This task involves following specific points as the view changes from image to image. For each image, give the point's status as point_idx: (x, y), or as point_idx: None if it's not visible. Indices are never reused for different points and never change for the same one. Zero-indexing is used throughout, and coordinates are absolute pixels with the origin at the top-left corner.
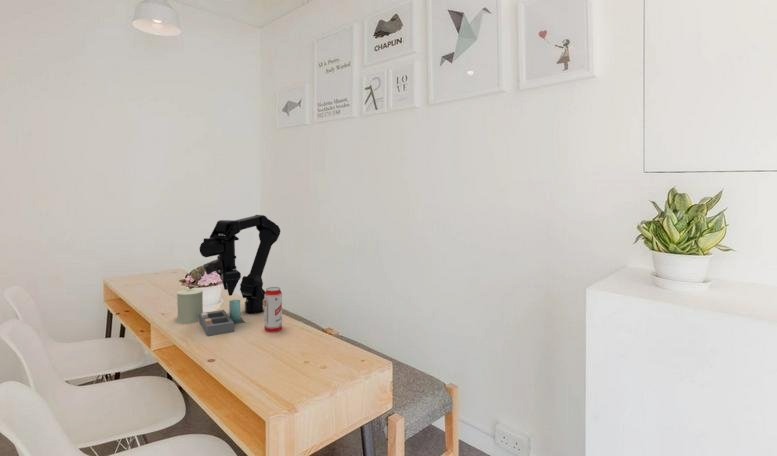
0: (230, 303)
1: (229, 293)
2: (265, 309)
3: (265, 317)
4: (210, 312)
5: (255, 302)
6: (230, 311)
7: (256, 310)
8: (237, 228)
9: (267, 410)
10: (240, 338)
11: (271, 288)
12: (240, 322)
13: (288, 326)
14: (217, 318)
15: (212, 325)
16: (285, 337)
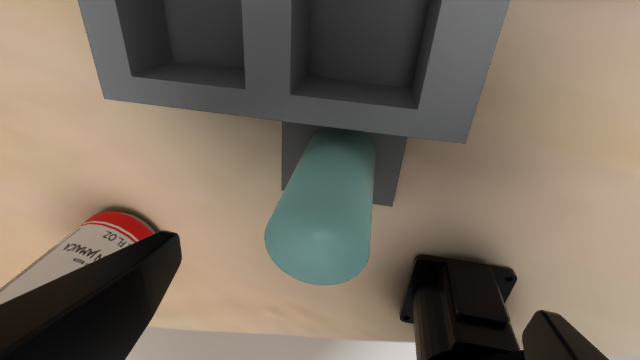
0: (299, 196)
1: (132, 253)
2: (5, 296)
3: (53, 257)
4: (478, 8)
5: (420, 347)
6: (315, 157)
7: (413, 304)
8: None
9: None
10: (62, 79)
11: None
12: (293, 169)
13: (164, 295)
14: (246, 15)
15: None
16: (43, 234)
